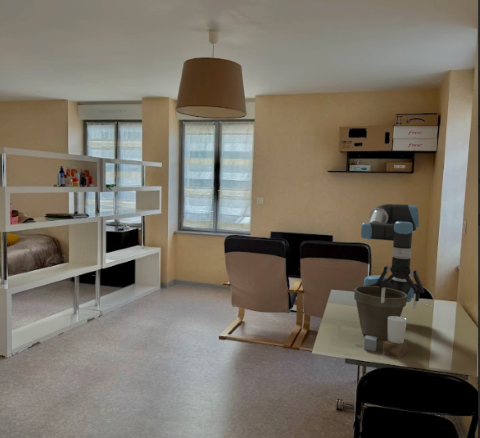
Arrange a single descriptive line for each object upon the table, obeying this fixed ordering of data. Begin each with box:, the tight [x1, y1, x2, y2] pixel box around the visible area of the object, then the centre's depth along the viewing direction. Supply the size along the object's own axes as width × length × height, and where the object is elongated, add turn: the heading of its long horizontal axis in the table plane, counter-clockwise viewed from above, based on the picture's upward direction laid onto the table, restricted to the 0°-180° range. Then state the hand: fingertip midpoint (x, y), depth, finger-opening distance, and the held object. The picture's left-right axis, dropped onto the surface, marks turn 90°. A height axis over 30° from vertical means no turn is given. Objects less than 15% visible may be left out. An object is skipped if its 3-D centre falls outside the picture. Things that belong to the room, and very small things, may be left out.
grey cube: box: [363, 335, 378, 352], centre depth 195 cm, size 5×5×5 cm
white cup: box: [388, 316, 408, 344], centre depth 191 cm, size 8×8×10 cm
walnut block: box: [382, 338, 409, 359], centre depth 192 cm, size 8×11×5 cm
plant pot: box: [353, 285, 408, 340], centre depth 215 cm, size 25×25×22 cm
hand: (398, 305), depth 191 cm, fingers open, 13 cm apart
